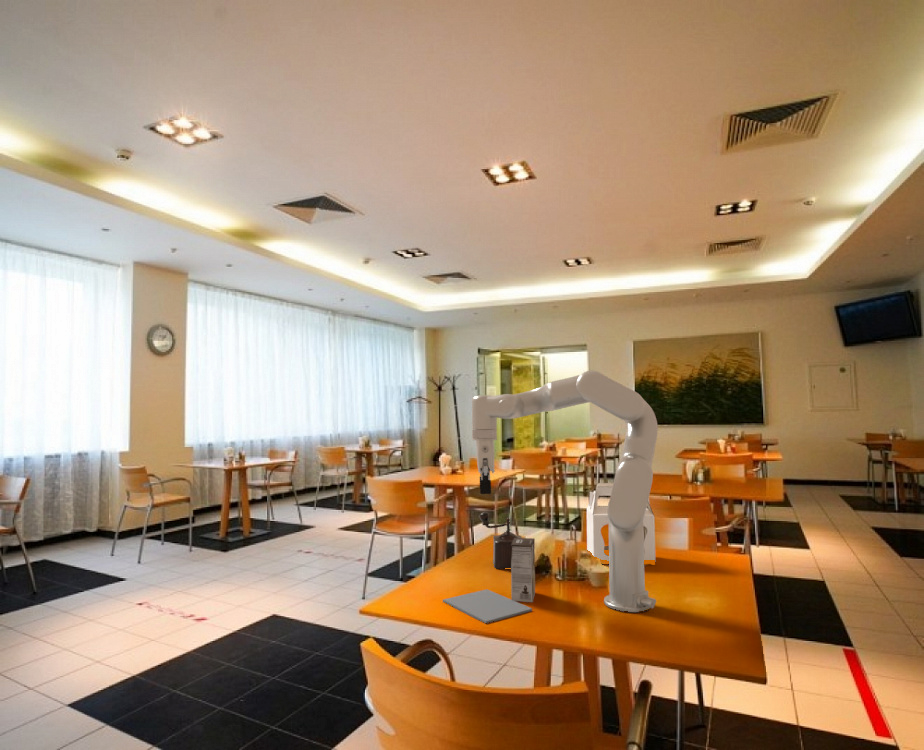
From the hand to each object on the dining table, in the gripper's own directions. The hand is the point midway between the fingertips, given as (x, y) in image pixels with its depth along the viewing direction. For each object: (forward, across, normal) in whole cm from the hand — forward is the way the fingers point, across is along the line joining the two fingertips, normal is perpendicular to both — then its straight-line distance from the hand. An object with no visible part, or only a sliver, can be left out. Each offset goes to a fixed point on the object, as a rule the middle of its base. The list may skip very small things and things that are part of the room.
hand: (485, 491), depth 167 cm
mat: (+30, -13, 0) cm, 32 cm away
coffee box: (+30, -4, -11) cm, 32 cm away
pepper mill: (+30, +29, -6) cm, 42 cm away
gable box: (+31, +37, -50) cm, 69 cm away
